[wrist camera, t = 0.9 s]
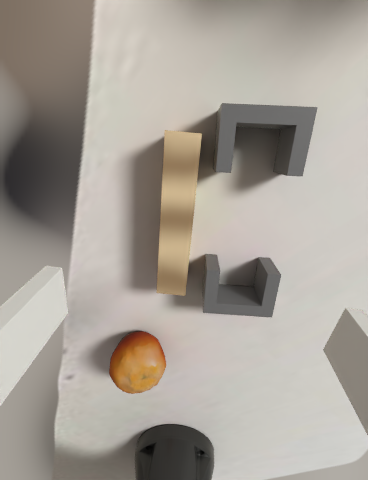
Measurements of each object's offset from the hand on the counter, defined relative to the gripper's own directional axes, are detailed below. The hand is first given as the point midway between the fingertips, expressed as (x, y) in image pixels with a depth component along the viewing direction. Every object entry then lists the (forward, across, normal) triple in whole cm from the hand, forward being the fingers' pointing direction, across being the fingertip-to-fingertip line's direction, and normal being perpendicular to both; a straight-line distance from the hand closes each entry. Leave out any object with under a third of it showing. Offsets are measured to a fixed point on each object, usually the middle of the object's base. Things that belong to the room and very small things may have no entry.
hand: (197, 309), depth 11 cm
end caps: (+20, -5, +2) cm, 21 cm away
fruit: (+18, +6, +25) cm, 31 cm away
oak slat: (+20, +3, +2) cm, 20 cm away
